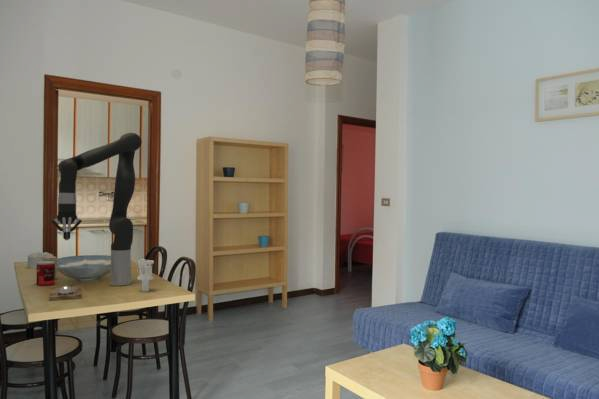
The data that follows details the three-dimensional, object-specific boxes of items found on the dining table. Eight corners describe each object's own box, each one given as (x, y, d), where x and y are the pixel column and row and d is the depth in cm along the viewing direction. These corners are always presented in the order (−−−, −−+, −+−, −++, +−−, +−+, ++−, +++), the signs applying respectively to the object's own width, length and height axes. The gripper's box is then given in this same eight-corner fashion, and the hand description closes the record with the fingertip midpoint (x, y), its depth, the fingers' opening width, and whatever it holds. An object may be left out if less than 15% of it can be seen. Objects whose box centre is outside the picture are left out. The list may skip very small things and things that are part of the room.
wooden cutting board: (80, 289, 215) (80, 286, 214) (81, 298, 197) (81, 294, 197) (51, 291, 209) (51, 288, 209) (49, 300, 191) (49, 297, 191)
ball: (71, 286, 197) (72, 297, 197) (71, 283, 201) (72, 294, 202) (58, 288, 194) (59, 299, 195) (58, 285, 199) (59, 296, 199)
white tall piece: (134, 291, 213) (134, 258, 213) (146, 288, 219) (147, 257, 219) (143, 293, 209) (144, 260, 209) (156, 290, 215) (156, 258, 215)
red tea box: (59, 279, 237) (59, 256, 237) (43, 281, 231) (43, 257, 231) (54, 278, 241) (55, 255, 241) (38, 279, 235) (39, 256, 235)
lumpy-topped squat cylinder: (26, 267, 273) (26, 252, 273) (50, 265, 283) (50, 251, 283) (31, 269, 266) (31, 254, 266) (55, 267, 275) (56, 252, 275)
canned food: (40, 283, 227) (41, 260, 227) (57, 283, 228) (57, 261, 228) (33, 286, 220) (33, 263, 220) (50, 286, 221) (50, 263, 220)
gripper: (82, 202, 220) (82, 238, 220) (51, 202, 214) (50, 239, 214) (83, 203, 213) (82, 240, 213) (50, 202, 207) (50, 241, 207)
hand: (66, 240), depth 213 cm, fingers closed
